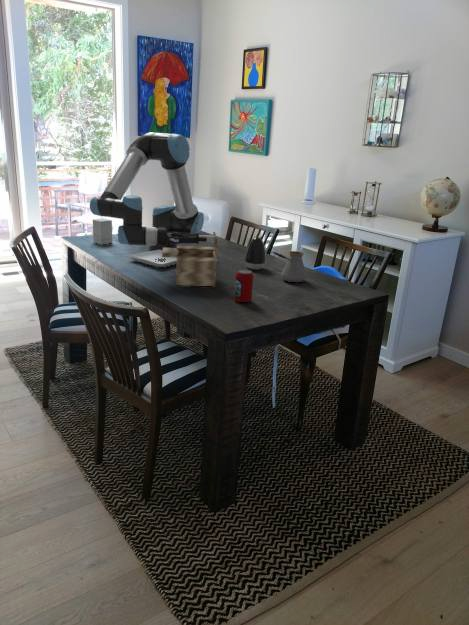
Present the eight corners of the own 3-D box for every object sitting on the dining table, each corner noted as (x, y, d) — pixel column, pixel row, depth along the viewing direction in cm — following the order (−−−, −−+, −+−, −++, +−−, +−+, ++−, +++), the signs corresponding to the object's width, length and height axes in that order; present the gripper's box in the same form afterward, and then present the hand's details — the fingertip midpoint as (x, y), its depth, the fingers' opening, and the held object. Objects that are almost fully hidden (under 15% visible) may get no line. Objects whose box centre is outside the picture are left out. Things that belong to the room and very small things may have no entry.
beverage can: (233, 297, 197) (235, 268, 193) (250, 298, 198) (252, 269, 194) (234, 303, 191) (236, 273, 187) (252, 304, 191) (254, 274, 187)
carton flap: (215, 238, 201) (217, 238, 201) (213, 232, 214) (214, 231, 214) (216, 258, 204) (218, 257, 204) (214, 250, 217) (215, 250, 217)
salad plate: (159, 255, 254) (159, 248, 253) (191, 263, 243) (191, 256, 241) (127, 262, 237) (127, 255, 236) (160, 271, 226) (161, 264, 225)
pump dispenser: (268, 267, 243) (271, 237, 238) (260, 272, 234) (263, 240, 229) (249, 264, 247) (251, 233, 242) (240, 268, 238) (243, 237, 233)
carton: (161, 289, 201) (161, 258, 196) (162, 272, 223) (163, 244, 219) (215, 291, 204) (217, 260, 199) (211, 274, 226) (213, 247, 222)
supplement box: (112, 243, 268) (112, 220, 264) (101, 245, 263) (100, 221, 258) (104, 241, 273) (104, 217, 268) (92, 242, 267) (92, 219, 263)
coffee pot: (292, 275, 233) (295, 244, 228) (311, 282, 225) (315, 249, 220) (259, 282, 219) (262, 249, 214) (278, 289, 211) (282, 254, 206)
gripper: (157, 242, 212) (213, 244, 215) (156, 249, 200) (215, 251, 203) (157, 224, 209) (214, 227, 212) (156, 230, 197) (216, 233, 200)
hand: (214, 239), depth 207 cm, fingers closed
